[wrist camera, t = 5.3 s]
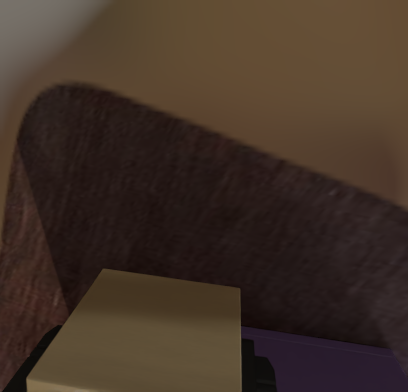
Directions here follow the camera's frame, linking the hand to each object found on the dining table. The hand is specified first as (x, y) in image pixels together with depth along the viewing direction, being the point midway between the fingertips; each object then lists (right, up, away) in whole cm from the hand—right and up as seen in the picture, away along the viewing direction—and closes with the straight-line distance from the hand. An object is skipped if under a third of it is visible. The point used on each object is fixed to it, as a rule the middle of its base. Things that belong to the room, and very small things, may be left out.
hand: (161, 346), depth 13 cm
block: (0, 0, +1) cm, 1 cm away
